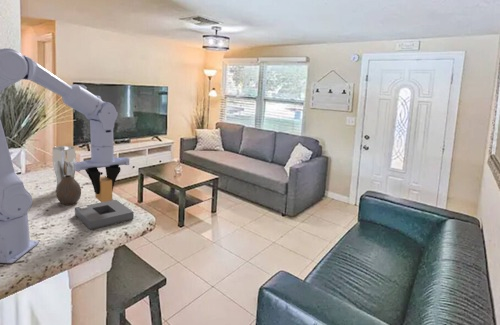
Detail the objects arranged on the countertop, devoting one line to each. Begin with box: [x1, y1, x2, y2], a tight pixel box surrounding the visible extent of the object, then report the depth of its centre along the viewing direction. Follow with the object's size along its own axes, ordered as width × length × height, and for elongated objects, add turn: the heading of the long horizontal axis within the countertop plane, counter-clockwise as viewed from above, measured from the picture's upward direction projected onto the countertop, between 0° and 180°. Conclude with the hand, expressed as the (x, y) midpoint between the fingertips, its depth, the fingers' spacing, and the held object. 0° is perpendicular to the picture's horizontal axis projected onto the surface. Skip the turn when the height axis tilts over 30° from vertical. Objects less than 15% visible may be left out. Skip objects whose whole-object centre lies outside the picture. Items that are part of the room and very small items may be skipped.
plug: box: [94, 175, 113, 203], centre depth 93 cm, size 4×3×6 cm, turn 45°
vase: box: [55, 175, 82, 206], centre depth 103 cm, size 7×7×9 cm
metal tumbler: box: [52, 145, 77, 189], centre depth 113 cm, size 7×7×15 cm
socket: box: [74, 199, 135, 231], centre depth 95 cm, size 12×12×3 cm
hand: (103, 191), depth 93 cm, fingers closed on plug, 3 cm apart
